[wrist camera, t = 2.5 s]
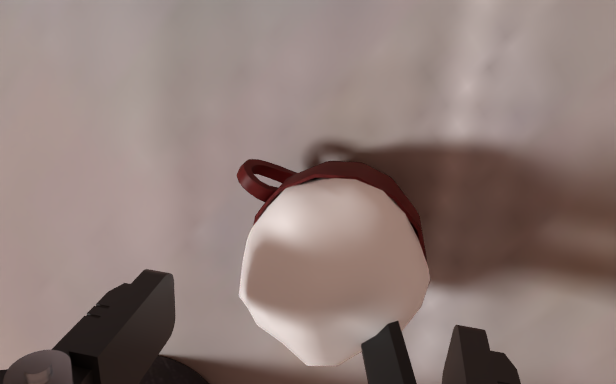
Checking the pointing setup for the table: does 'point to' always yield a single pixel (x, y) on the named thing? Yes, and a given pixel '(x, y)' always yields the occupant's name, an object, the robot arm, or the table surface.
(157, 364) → the travel mug
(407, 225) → the cocoa
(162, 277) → the robot arm
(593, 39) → the table surface
